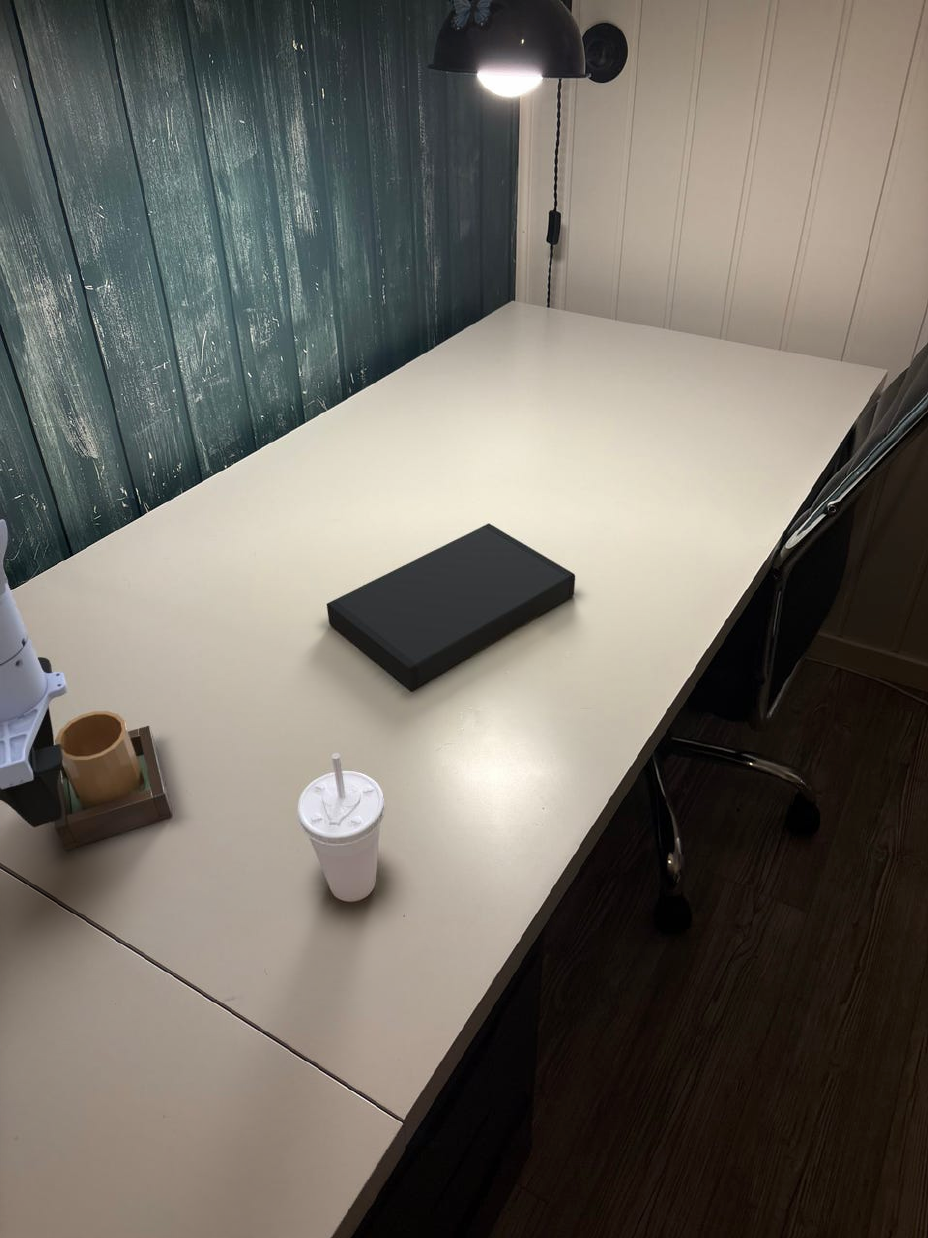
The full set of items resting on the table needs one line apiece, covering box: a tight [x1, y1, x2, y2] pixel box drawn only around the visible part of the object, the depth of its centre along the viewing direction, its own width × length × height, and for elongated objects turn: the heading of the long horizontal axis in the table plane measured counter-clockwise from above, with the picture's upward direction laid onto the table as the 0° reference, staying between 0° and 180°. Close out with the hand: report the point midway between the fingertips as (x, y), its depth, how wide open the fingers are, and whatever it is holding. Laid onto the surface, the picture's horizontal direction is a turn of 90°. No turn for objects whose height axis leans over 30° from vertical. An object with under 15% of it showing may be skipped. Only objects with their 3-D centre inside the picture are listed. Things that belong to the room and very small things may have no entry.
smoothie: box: [297, 752, 386, 903], centre depth 69 cm, size 6×6×14 cm
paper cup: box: [54, 710, 146, 810], centre depth 78 cm, size 6×6×7 cm
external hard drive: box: [326, 523, 576, 692], centre depth 99 cm, size 14×23×3 cm, turn 131°
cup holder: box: [53, 725, 173, 852], centre depth 79 cm, size 9×9×3 cm
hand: (43, 783), depth 69 cm, fingers open, 7 cm apart
